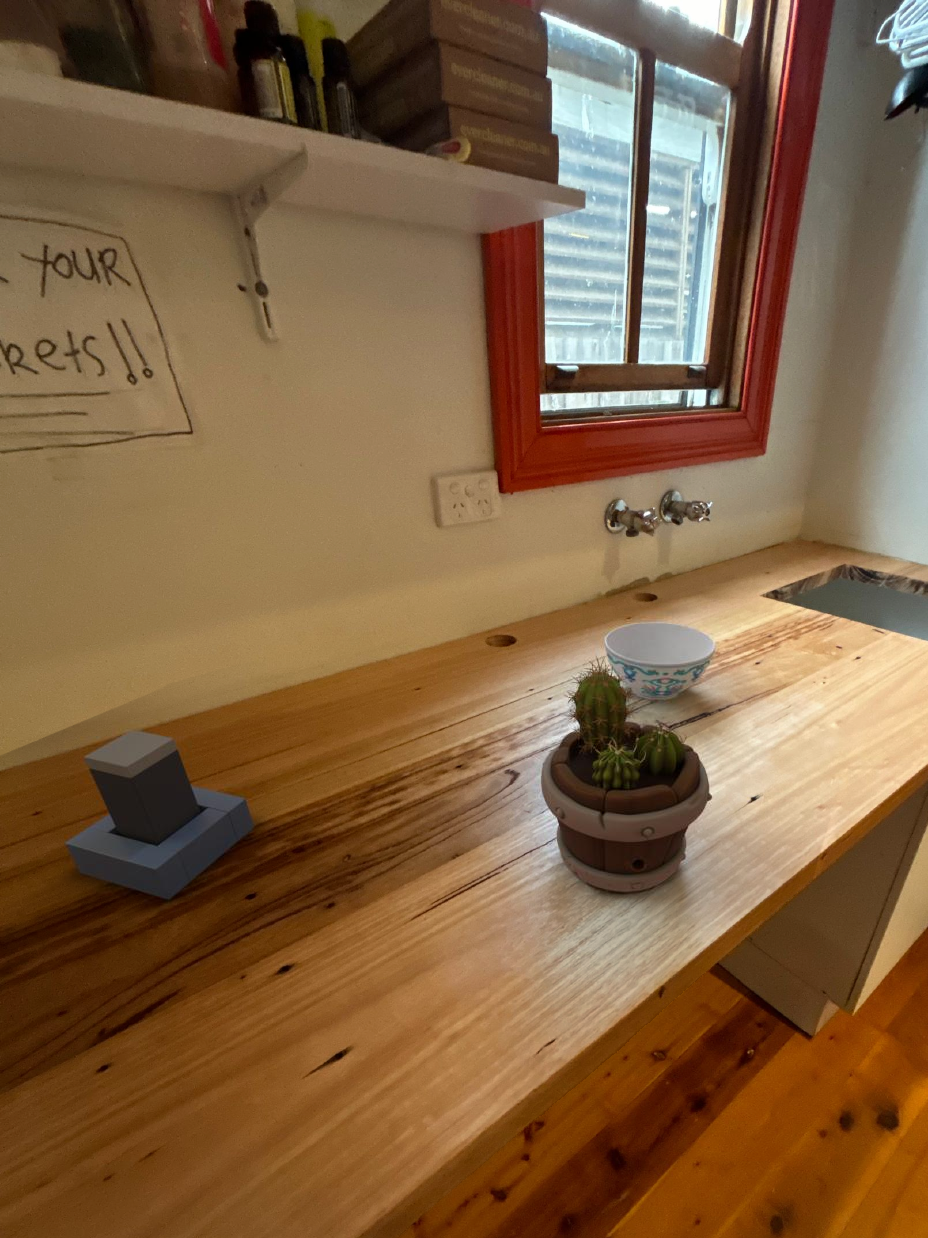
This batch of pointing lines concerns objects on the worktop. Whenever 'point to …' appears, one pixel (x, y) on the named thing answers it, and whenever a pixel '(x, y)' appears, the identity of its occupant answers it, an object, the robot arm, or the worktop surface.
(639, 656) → the chinaware
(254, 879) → the worktop surface
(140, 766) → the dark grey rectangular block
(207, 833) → the block
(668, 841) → the flowerpot
